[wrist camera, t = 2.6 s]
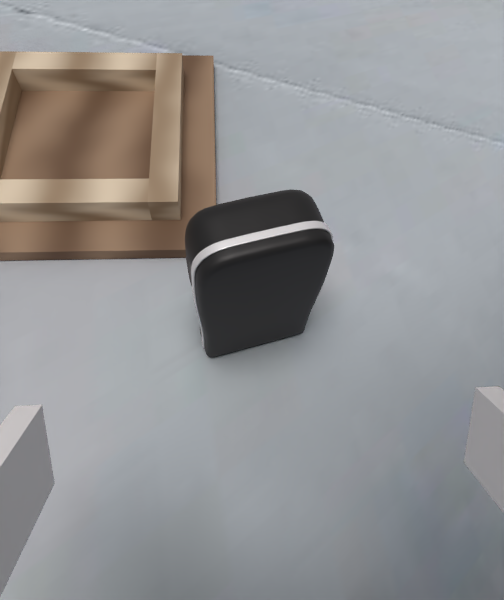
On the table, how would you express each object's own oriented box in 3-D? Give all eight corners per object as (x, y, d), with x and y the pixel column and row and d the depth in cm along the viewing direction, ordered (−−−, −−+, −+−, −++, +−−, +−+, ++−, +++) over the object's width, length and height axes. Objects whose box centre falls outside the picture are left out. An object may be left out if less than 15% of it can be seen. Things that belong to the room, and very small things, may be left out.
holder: (213, 66, 42) (212, 34, 40) (217, 257, 33) (216, 232, 31) (-19, 63, 41) (-36, 30, 38) (-80, 261, 32) (-108, 236, 29)
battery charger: (288, 284, 33) (317, 168, 22) (308, 333, 31) (347, 232, 21) (189, 309, 31) (172, 198, 21) (204, 362, 30) (192, 269, 20)
